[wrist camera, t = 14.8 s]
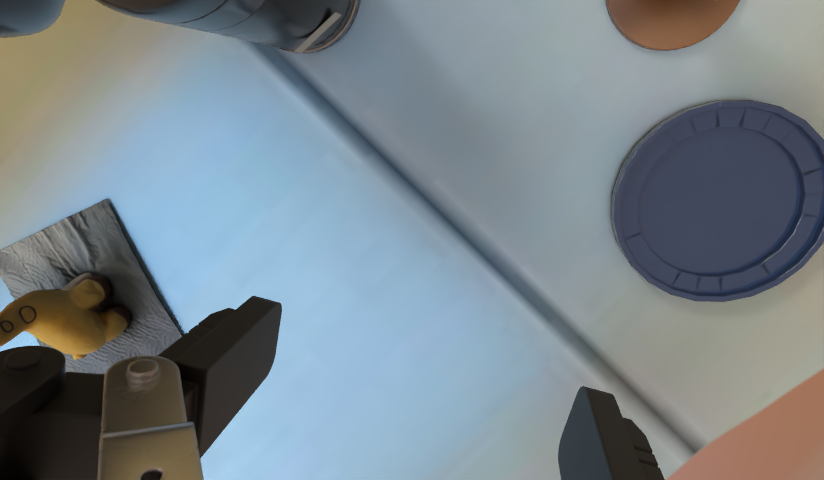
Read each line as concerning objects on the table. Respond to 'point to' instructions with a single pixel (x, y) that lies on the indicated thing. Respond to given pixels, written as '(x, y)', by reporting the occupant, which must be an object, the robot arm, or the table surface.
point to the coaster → (669, 20)
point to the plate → (722, 200)
